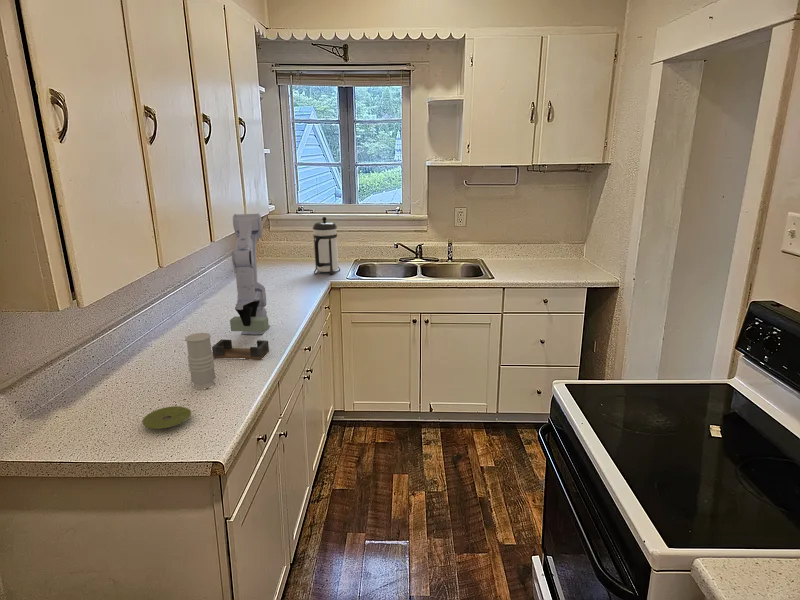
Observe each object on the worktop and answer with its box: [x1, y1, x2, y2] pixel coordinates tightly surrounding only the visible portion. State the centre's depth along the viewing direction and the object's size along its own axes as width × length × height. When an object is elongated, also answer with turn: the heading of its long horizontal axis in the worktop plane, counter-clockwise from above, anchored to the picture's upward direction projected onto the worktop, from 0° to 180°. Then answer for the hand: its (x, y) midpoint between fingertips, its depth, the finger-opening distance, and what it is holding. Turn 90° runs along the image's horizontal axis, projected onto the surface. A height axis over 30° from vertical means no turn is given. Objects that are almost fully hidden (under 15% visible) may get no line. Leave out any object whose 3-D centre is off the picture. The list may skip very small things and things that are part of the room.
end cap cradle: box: [211, 339, 270, 360], centre depth 175 cm, size 7×16×4 cm, turn 84°
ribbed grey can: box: [184, 332, 217, 390], centre depth 152 cm, size 7×7×15 cm
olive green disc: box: [142, 405, 192, 430], centre depth 133 cm, size 11×11×2 cm
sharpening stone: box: [229, 315, 270, 333], centre depth 182 cm, size 4×12×4 cm, turn 84°
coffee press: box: [312, 216, 341, 276], centre depth 282 cm, size 17×16×30 cm
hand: (249, 323), depth 182 cm, fingers closed on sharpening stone, 4 cm apart
